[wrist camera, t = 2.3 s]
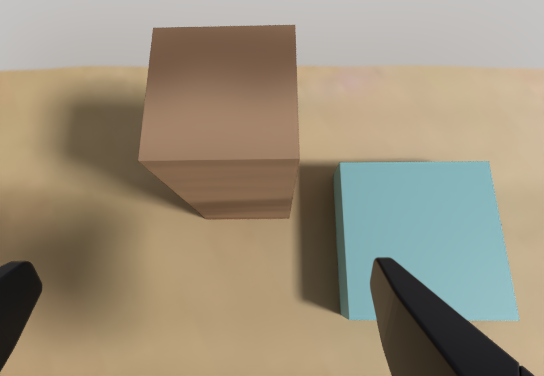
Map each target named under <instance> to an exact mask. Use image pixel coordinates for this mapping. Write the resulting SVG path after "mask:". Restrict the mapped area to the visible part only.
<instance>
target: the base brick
mask: <svg viewBox="0 0 544 376" xmlns="http://www.w3.org/2000/svg"><path fill="white" fill-rule="evenodd" d="M333 182H334V200H335V218H336V237H337V255H338V274H339V292H340V311H341V315H342V316H343V317H345V318H347V319H349V320H377V319H376V314H375V309H374V305H373V300H372V295H371V290H370V278H371V272H372V266H373V261H374V259H375V258H377V257H390V258H392V259H394V260H395V261H396V262H397V263H399V264H400V265H401V266H402V267H404V268H405V269H406V270H407V271H408V272H410V273H411V274H412V275H413V276H414V277H416V278H417V279H418V280H419V281H420V282H422V283H423V284H424V285H425V286H427V287H428V288H429V289H430V290H431V291H433V292H434V293H435V294H436V295H437V296H439V297H440V298H441V299H442V300H443V301H445V302H446V303H447V304H448V305H449V306H451V307H452V308H453V309H454V310H456V311H457V312H458V313H459V314H460V315H462V316H463V317H464V318H465V319H466V320H491V321H520V319H519V314H518V309H517V304H516V299H515V293H514V288H513V283H512V278H511V273H510V268H509V263H508V257H507V252H506V247H505V242H504V237H503V232H502V227H501V221H500V216H499V211H498V206H497V201H496V196H495V191H494V185H493V180H492V175H491V170H490V165H489V161H468V162H340V163H339V165H338V167H337V169H336V171H335V173H334V175H333Z"/></svg>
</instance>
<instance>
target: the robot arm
mask: <svg viewBox="0 0 544 376" xmlns="http://www.w3.org/2000/svg"><path fill="white" fill-rule="evenodd" d="M370 290H371V295H372V300H373V305H374V309H375V314H376V319H377V324H378V328H379V333H380V338H381V342H382V347H383V350H384V353H385V357H386V360H387V363H388V366H389V369H390V372H391V375H392V376H534V375H533V374H532V373H531V372H530V371H528V370H527V369H526V368H525V367H523V366H519V363H518V362H517V361H516V360H515V359H514V358H512V357H511V356H510V355H509V354H508V353H506V352H505V351H504V350H503V349H501V348H500V347H499V346H498V345H497V344H495V343H494V342H493V341H492V340H491V339H489V338H488V337H487V336H486V335H485V334H483V333H482V332H481V331H480V330H479V329H477V328H476V327H475V326H474V325H472V324H471V323H470V322H469V321H468V320H466V319H465V318H464V317H463V316H462V315H460V314H459V313H458V312H457V311H456V310H454V309H453V308H452V307H451V306H449V305H448V304H447V303H446V302H445V301H443V300H442V299H441V298H440V297H439V296H437V295H436V294H435V293H434V292H433V291H431V290H430V289H429V288H428V287H427V286H425V285H424V284H423V283H422V282H420V281H419V280H418V279H417V278H416V277H414V276H413V275H412V274H411V273H410V272H408V271H407V270H406V269H405V268H404V267H402V266H401V265H400V264H399V263H397V262H396V261H395V260H394V259H392V258H390V257H377V258H375V259H374V261H373V266H372V272H371V278H370ZM41 292H42V282H41V280H40V278H39V276H38V274H37V272H36V270H35V268H34V266H33V265H32V263H30V262H29V261H11V262H9V263H7V264H5V265H3V266H1V267H0V372H1V370H2V368H3V367H4V365H5V363H6V362H7V360H8V358H9V356H10V355H11V353H12V351H13V349H14V348H15V346H16V344H17V342H18V340H19V338H20V336H21V334H22V332H23V329H24V327H25V325H26V323H27V321H28V319H29V317H30V315H31V313H32V311H33V309H34V307H35V305H36V303H37V300H38V298H39V296H40V294H41Z"/></svg>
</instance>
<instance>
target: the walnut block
mask: <svg viewBox="0 0 544 376" xmlns="http://www.w3.org/2000/svg"><path fill="white" fill-rule="evenodd" d="M299 159H300V155H299V125H298V95H297V65H296V35H295V25H272V26H271V25H269V26H220V27H175V28H173V27H172V28H153V34H152V43H151V51H150V60H149V69H148V78H147V87H146V95H145V104H144V113H143V122H142V131H141V139H140V148H139V157H138V161H139V162H140V163H141V164H142V165H143V166H145V167H146V168H147V169H148V170H149V171H150V172H152V173H153V174H154V175H155V176H156V177H158V178H159V179H160V180H161V181H162V182H163V183H165V184H166V185H167V186H168V187H169V188H171V189H172V190H173V191H174V192H175V193H176V194H178V195H179V196H180V197H181V198H182V199H184V200H185V201H186V202H187V203H188V204H189V205H191V206H192V207H193V208H194V209H195V210H197V211H198V212H199V213H200V214H201V215H202V216H204V217H205V218H206V219H285V218H289V217H290V211H291V205H292V200H293V194H294V188H295V182H296V177H297V171H298V165H299Z"/></svg>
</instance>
